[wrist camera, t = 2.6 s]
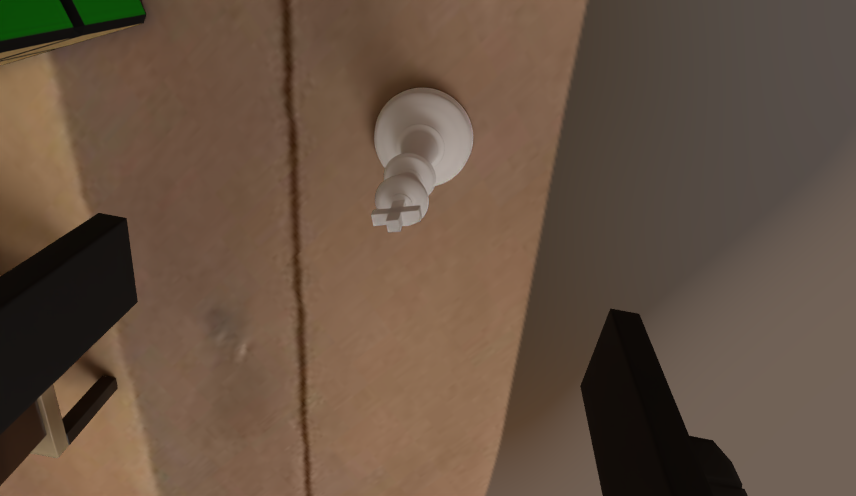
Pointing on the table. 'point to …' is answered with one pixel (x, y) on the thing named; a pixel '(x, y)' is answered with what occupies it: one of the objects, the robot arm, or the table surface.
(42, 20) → the puzzle cube
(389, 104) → the chess piece
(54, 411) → the toy table
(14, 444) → the walnut block
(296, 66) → the table surface
